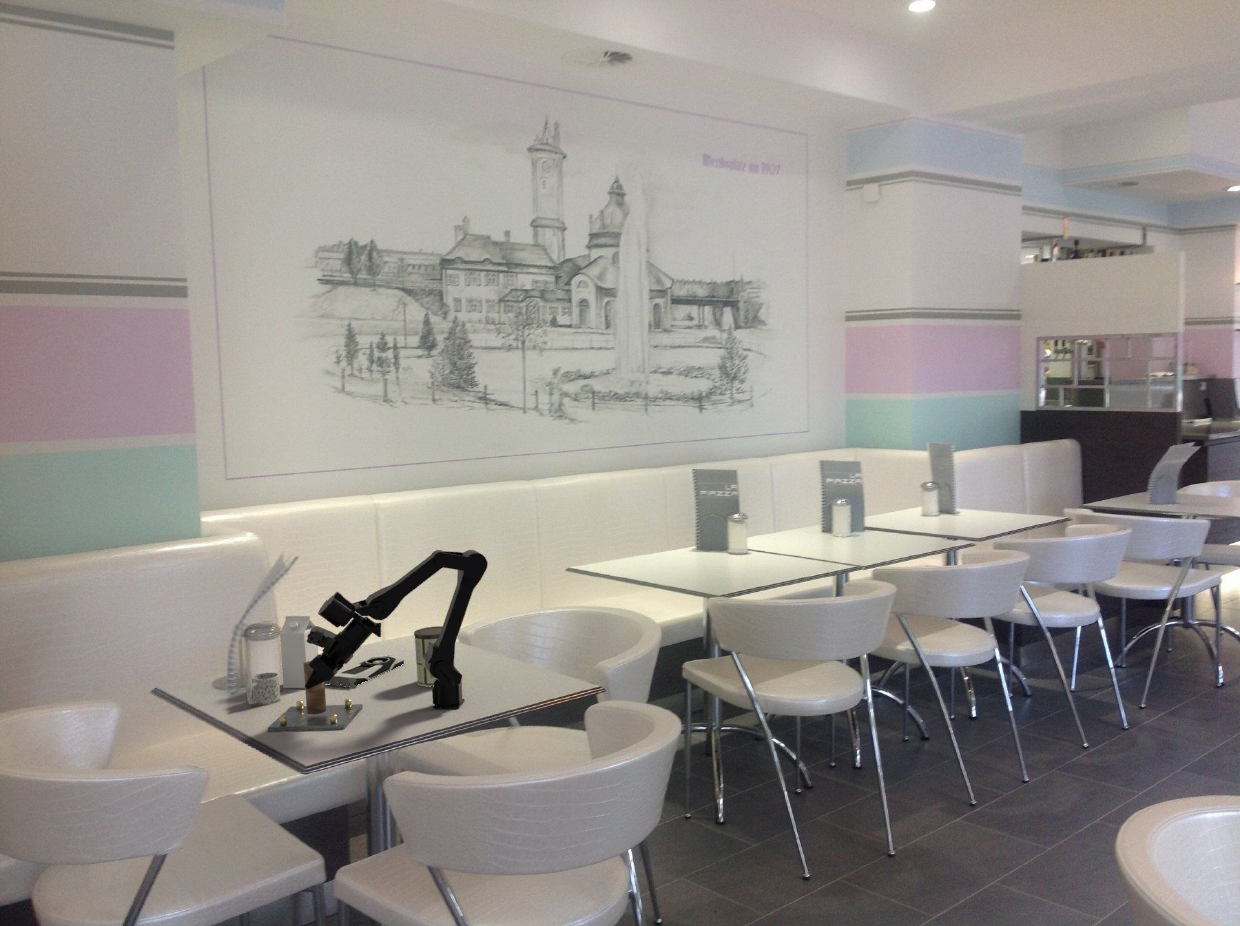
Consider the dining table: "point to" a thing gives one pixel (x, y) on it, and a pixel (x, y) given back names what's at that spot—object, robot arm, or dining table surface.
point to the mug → (264, 689)
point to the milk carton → (296, 650)
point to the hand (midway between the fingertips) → (309, 684)
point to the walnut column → (314, 694)
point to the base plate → (316, 718)
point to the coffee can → (421, 646)
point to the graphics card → (365, 670)
